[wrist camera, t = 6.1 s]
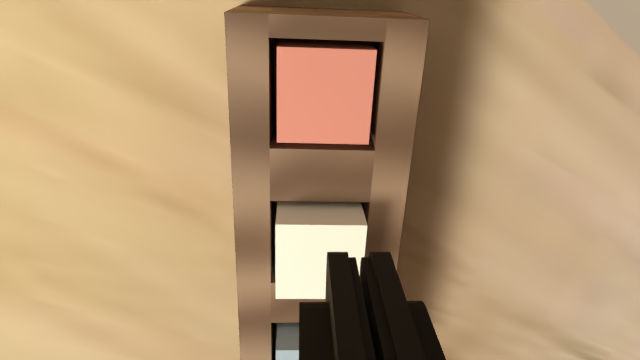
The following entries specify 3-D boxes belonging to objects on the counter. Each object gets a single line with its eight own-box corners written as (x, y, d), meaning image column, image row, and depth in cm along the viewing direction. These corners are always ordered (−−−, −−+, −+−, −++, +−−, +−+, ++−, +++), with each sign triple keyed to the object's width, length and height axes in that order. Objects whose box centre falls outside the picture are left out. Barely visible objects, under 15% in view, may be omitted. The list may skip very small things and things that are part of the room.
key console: (239, 5, 27) (224, 12, 21) (403, 11, 27) (429, 19, 22) (250, 336, 37) (242, 397, 32) (368, 335, 38) (379, 395, 32)
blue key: (278, 307, 31) (275, 350, 28) (348, 307, 31) (355, 350, 28) (278, 359, 33) (275, 406, 30) (344, 359, 34) (350, 405, 30)
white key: (278, 192, 27) (275, 224, 24) (358, 193, 28) (367, 225, 24) (278, 259, 30) (275, 299, 26) (352, 260, 30) (360, 298, 26)
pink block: (279, 37, 25) (276, 46, 22) (365, 40, 26) (376, 50, 22) (279, 121, 28) (276, 142, 24) (359, 123, 28) (368, 144, 24)
